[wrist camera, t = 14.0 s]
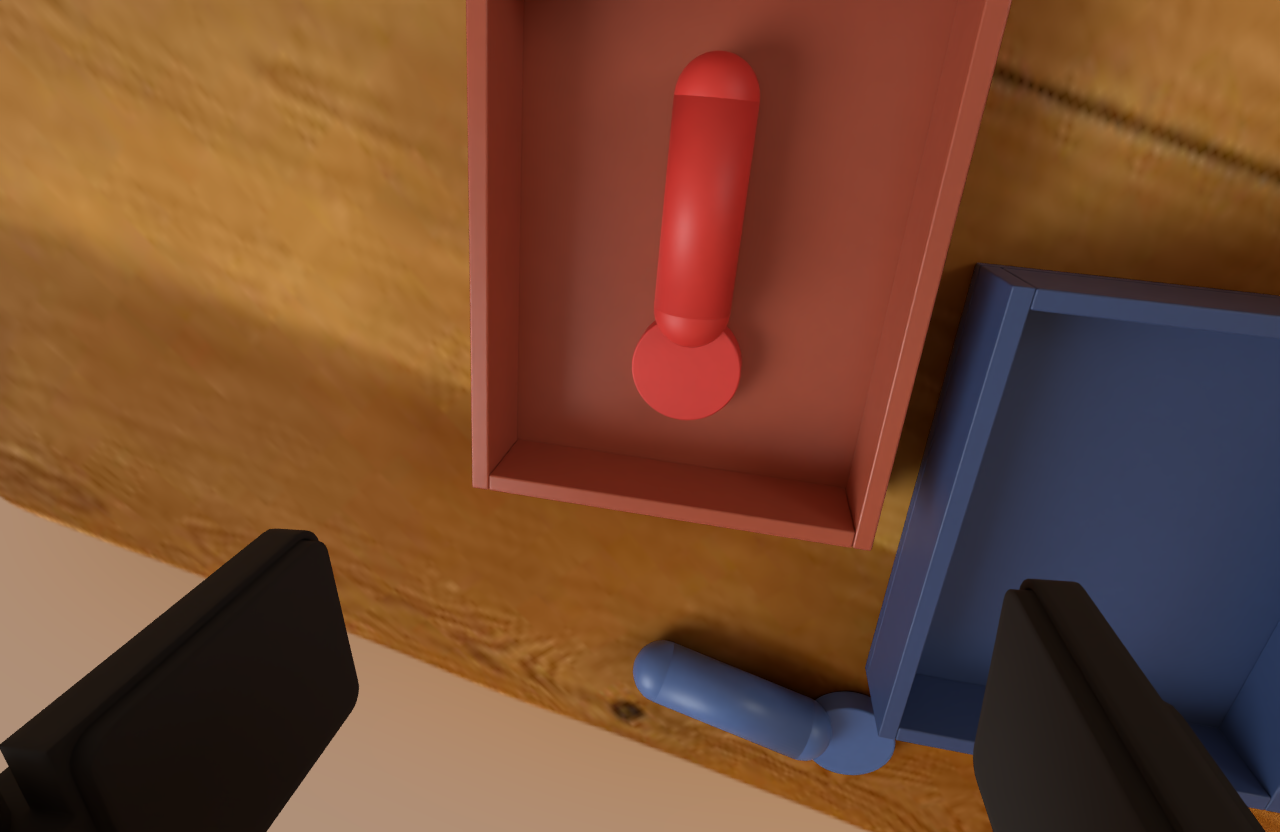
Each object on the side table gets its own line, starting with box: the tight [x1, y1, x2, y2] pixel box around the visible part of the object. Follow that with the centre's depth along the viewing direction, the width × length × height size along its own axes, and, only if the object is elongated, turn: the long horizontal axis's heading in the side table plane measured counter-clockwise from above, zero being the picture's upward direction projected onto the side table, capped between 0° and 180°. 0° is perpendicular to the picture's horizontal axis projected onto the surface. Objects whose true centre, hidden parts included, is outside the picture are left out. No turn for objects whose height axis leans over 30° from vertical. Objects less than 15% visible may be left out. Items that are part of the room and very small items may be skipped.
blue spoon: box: [633, 640, 895, 775], centre depth 28 cm, size 11×4×2 cm, turn 70°
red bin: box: [466, 0, 1012, 550], centre depth 21 cm, size 13×16×4 cm
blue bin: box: [865, 263, 1280, 813], centre depth 22 cm, size 13×16×4 cm
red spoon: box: [632, 51, 760, 420], centre depth 21 cm, size 11×4×2 cm, turn 175°
